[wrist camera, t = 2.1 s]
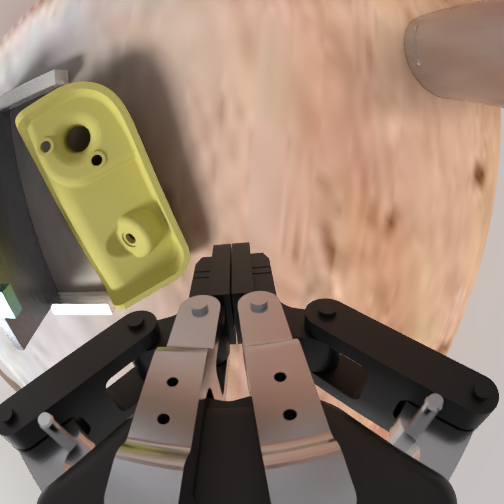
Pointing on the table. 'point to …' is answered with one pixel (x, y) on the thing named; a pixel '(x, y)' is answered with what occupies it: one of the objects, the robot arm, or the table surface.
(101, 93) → the plastic component
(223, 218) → the table surface
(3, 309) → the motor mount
